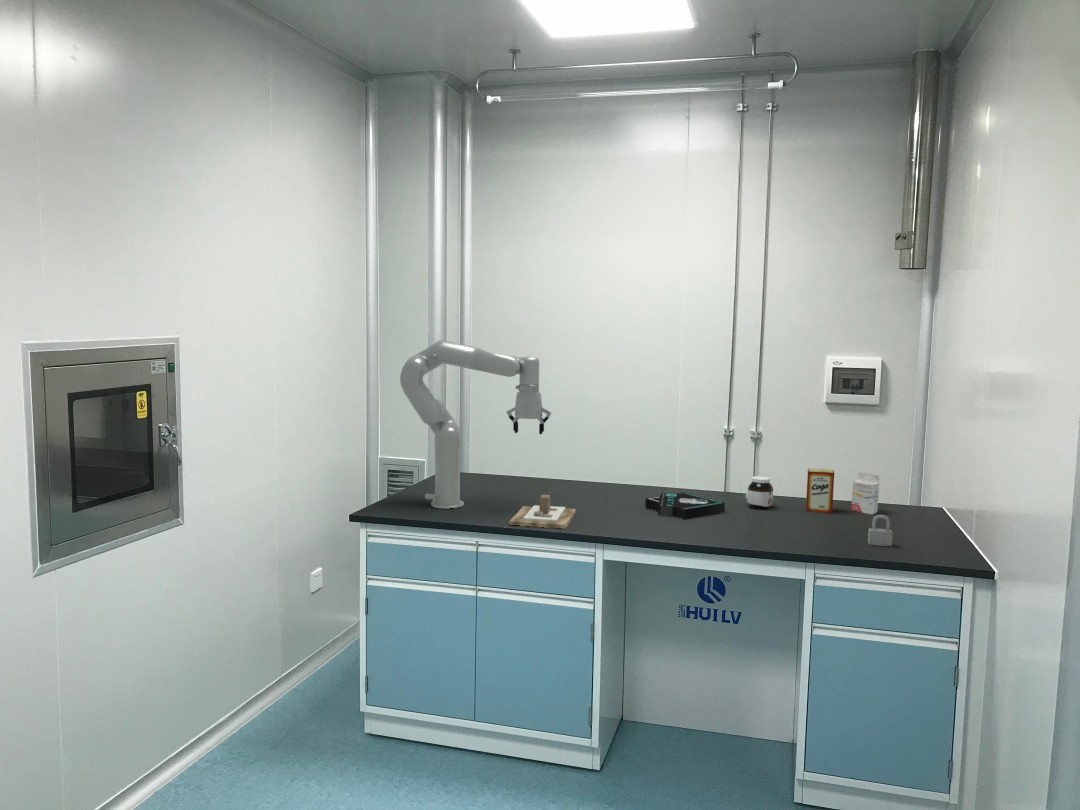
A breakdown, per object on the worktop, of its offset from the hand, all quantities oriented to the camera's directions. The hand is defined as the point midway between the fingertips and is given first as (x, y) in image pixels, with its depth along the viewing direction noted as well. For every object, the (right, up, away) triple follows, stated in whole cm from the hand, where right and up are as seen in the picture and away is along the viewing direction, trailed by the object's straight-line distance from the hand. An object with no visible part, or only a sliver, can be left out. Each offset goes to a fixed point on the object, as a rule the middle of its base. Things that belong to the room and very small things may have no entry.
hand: (528, 433), depth 319 cm
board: (+6, -31, -18) cm, 36 cm away
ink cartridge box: (+129, -30, 0) cm, 133 cm away
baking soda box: (+112, -30, +1) cm, 116 cm away
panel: (+6, -29, -19) cm, 35 cm away
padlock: (+116, -35, -46) cm, 130 cm away
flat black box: (+60, -30, -1) cm, 67 cm away
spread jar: (+90, -29, +7) cm, 95 cm away
